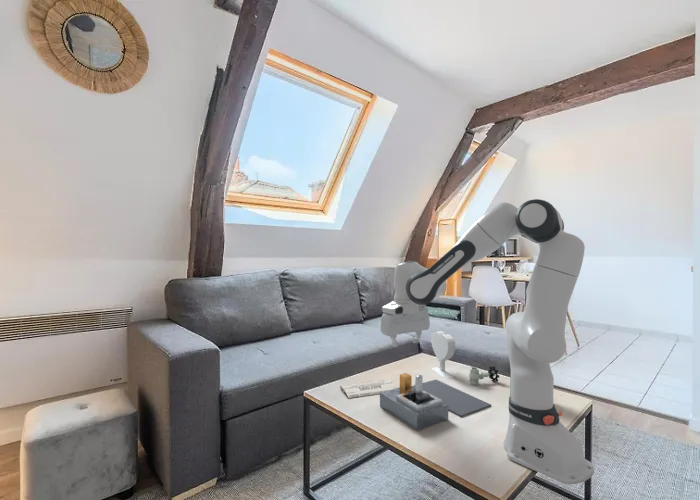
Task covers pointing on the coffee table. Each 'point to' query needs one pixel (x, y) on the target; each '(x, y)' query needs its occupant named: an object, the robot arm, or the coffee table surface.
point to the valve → (482, 375)
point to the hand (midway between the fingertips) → (405, 344)
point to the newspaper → (368, 388)
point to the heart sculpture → (442, 351)
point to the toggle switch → (409, 415)
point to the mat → (454, 398)
